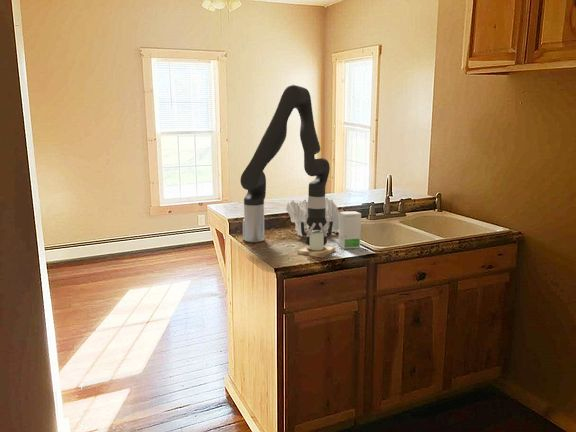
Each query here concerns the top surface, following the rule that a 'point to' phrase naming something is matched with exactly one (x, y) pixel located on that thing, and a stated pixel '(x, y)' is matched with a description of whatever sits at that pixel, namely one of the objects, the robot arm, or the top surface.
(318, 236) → the pale green cylinder
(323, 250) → the post
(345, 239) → the skincare box
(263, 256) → the top surface
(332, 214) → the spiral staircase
